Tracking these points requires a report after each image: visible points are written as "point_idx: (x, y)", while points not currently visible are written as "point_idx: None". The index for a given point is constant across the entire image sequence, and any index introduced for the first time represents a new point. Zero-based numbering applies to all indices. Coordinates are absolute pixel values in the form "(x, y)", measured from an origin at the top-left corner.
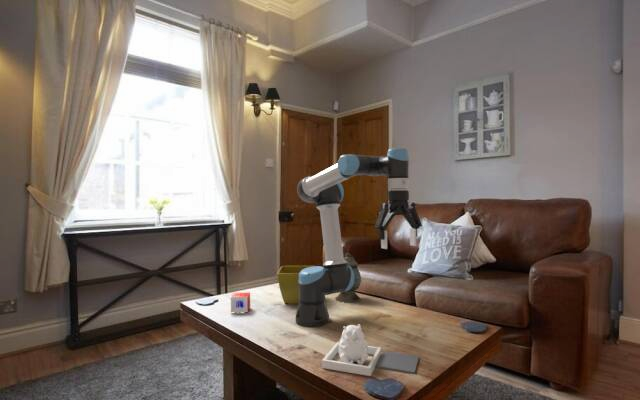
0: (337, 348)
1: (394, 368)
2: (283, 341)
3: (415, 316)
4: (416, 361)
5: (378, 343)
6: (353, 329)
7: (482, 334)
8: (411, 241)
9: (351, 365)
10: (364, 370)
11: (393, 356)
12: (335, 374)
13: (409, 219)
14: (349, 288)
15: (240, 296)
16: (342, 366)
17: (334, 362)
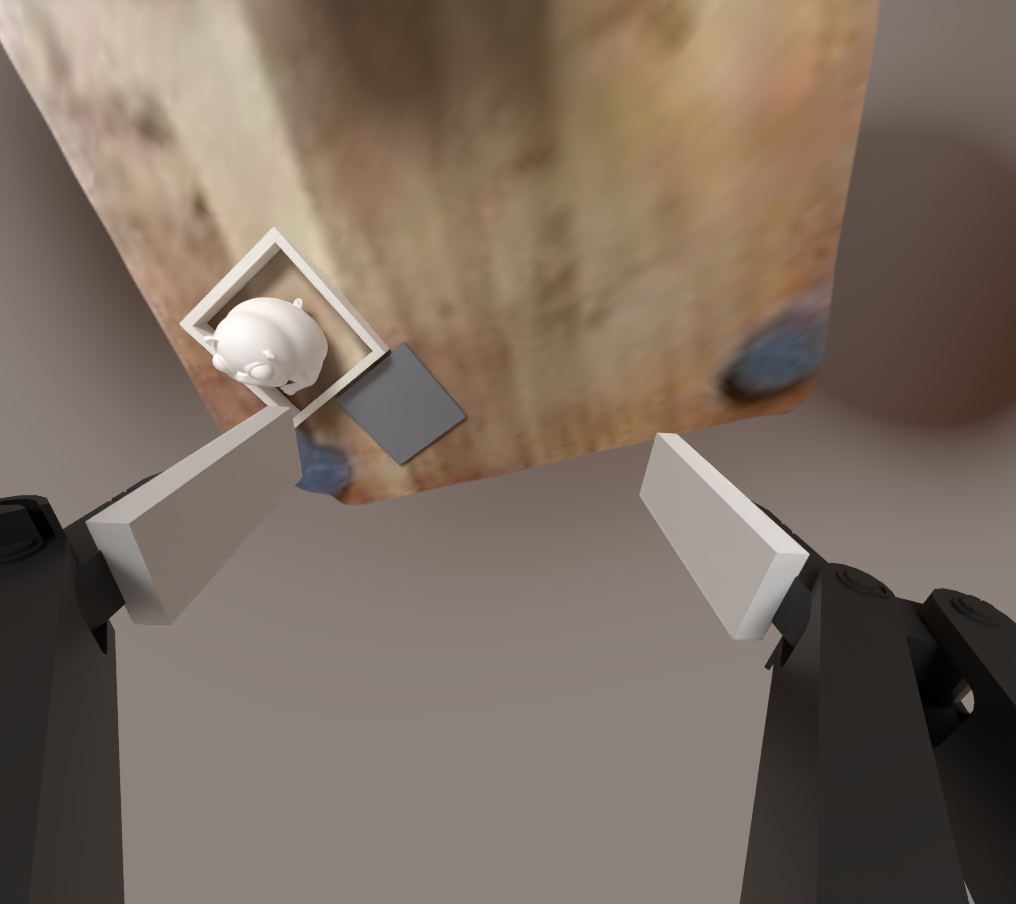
0: (266, 256)
1: (368, 432)
2: (78, 5)
3: (750, 135)
4: (438, 434)
5: (430, 278)
6: (238, 370)
7: (729, 408)
8: (669, 474)
9: (254, 392)
10: None
11: (405, 384)
12: None
13: (757, 827)
14: None
15: None
16: None
17: (213, 354)
